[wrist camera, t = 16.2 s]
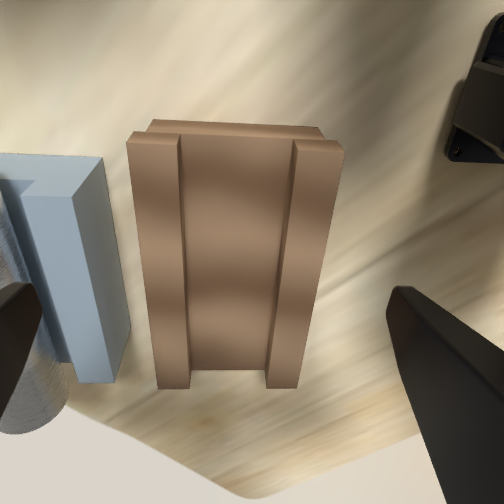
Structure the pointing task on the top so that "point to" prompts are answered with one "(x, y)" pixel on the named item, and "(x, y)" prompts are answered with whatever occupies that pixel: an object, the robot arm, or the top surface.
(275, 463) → the top surface
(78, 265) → the cradle
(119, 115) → the top surface
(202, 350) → the beam
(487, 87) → the robot arm
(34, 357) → the axle
